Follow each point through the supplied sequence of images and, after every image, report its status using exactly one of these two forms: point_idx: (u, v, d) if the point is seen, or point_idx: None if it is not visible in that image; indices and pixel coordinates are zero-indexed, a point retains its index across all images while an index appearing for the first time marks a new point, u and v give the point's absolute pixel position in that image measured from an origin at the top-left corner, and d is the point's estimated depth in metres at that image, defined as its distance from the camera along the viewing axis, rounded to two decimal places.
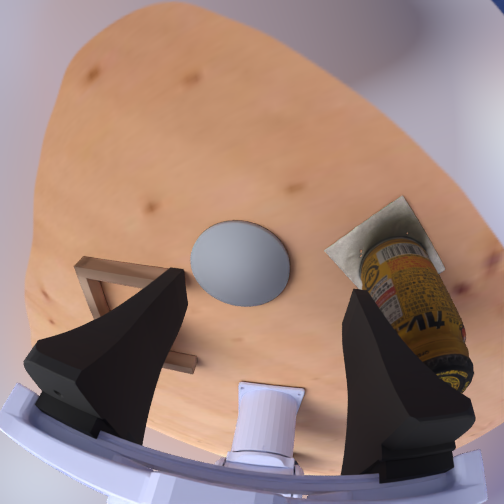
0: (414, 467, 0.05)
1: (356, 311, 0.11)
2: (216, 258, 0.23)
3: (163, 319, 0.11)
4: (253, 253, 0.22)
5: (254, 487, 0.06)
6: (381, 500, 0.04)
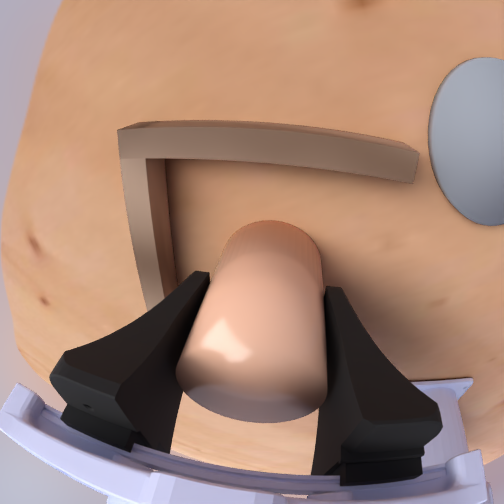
0: (377, 472, 0.05)
1: (327, 309, 0.11)
2: (479, 117, 0.08)
3: (191, 324, 0.10)
4: None
5: (253, 487, 0.06)
6: (381, 500, 0.04)
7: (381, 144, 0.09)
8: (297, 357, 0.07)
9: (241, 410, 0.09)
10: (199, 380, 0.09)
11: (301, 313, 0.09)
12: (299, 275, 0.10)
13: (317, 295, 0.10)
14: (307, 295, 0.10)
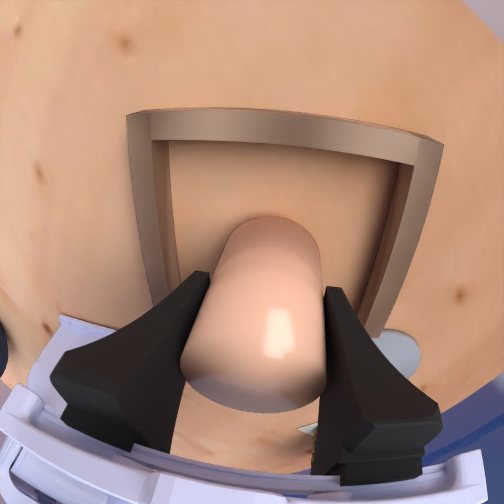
0: (377, 472, 0.05)
1: (327, 309, 0.11)
2: (388, 356, 0.18)
3: (191, 324, 0.10)
4: None
5: (253, 487, 0.06)
6: (381, 500, 0.04)
7: (386, 319, 0.15)
8: (299, 348, 0.08)
9: (242, 399, 0.10)
10: (203, 369, 0.09)
11: (303, 306, 0.09)
12: (301, 270, 0.11)
13: (317, 290, 0.11)
14: (308, 290, 0.10)
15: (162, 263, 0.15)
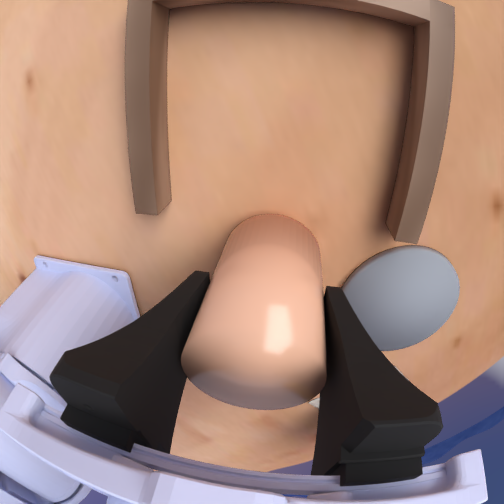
0: (377, 472, 0.05)
1: (327, 308, 0.11)
2: (423, 286, 0.15)
3: (191, 324, 0.10)
4: (417, 322, 0.16)
5: (253, 487, 0.06)
6: (381, 500, 0.04)
7: (424, 214, 0.11)
8: (299, 343, 0.08)
9: (243, 396, 0.10)
10: (203, 366, 0.09)
11: (302, 302, 0.09)
12: (300, 266, 0.11)
13: (317, 286, 0.11)
14: (308, 286, 0.10)
15: (149, 138, 0.11)
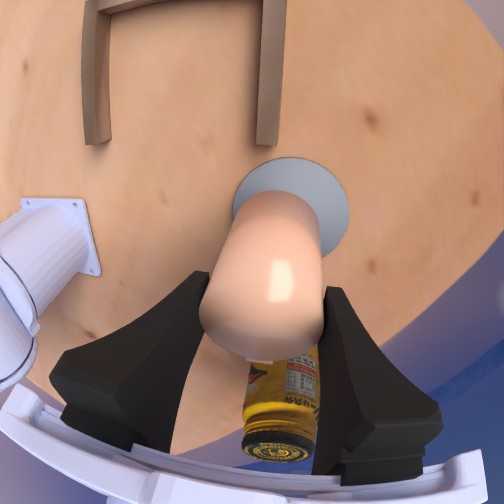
0: (377, 471, 0.05)
1: (328, 309, 0.11)
2: (305, 193, 0.19)
3: (191, 324, 0.10)
4: None
5: (254, 487, 0.06)
6: (381, 500, 0.04)
7: (278, 121, 0.16)
8: (298, 289, 0.10)
9: (252, 347, 0.12)
10: (218, 317, 0.11)
11: (301, 259, 0.11)
12: (299, 232, 0.12)
13: (315, 249, 0.13)
14: (306, 247, 0.12)
15: (94, 94, 0.15)
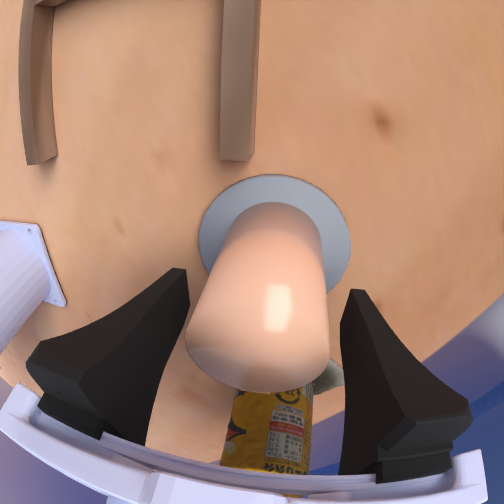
0: (411, 468, 0.05)
1: (353, 311, 0.11)
2: None
3: (166, 319, 0.11)
4: None
5: (254, 487, 0.06)
6: (381, 500, 0.04)
7: (249, 126, 0.11)
8: (301, 314, 0.08)
9: (247, 378, 0.10)
10: (207, 345, 0.09)
11: (303, 278, 0.09)
12: (301, 247, 0.11)
13: (318, 266, 0.11)
14: (309, 265, 0.10)
15: (30, 104, 0.11)
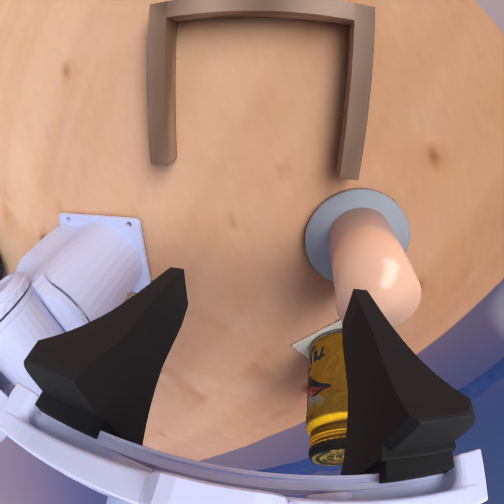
0: (414, 467, 0.05)
1: (356, 311, 0.11)
2: None
3: (163, 319, 0.11)
4: None
5: (253, 487, 0.06)
6: (381, 500, 0.04)
7: (361, 157, 0.16)
8: (412, 272, 0.13)
9: None
10: None
11: (403, 255, 0.15)
12: (394, 237, 0.16)
13: None
14: (401, 248, 0.16)
15: (163, 110, 0.16)
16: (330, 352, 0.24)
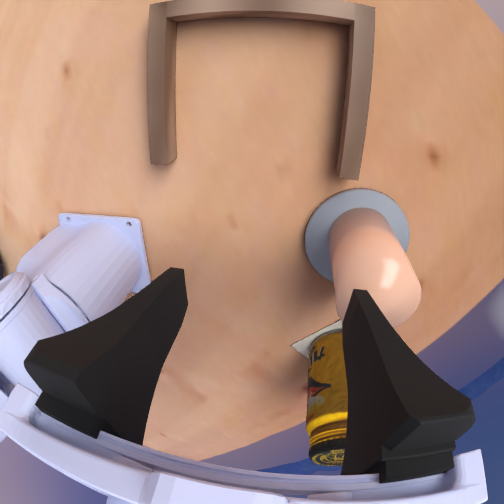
0: (414, 467, 0.05)
1: (356, 311, 0.11)
2: None
3: (163, 319, 0.11)
4: None
5: (253, 487, 0.06)
6: (381, 500, 0.04)
7: (361, 157, 0.16)
8: (412, 272, 0.13)
9: None
10: None
11: (403, 255, 0.15)
12: (394, 237, 0.16)
13: None
14: (401, 248, 0.16)
15: (163, 110, 0.16)
16: (330, 352, 0.24)
